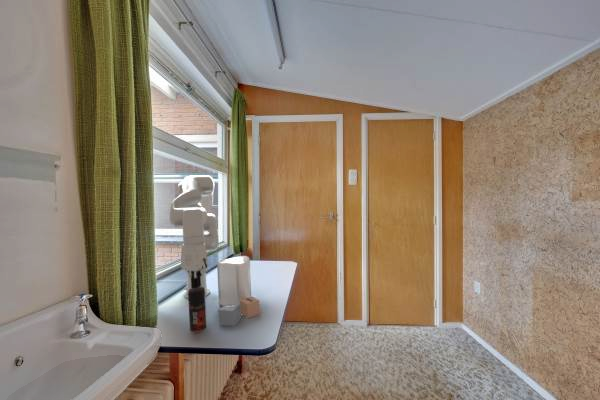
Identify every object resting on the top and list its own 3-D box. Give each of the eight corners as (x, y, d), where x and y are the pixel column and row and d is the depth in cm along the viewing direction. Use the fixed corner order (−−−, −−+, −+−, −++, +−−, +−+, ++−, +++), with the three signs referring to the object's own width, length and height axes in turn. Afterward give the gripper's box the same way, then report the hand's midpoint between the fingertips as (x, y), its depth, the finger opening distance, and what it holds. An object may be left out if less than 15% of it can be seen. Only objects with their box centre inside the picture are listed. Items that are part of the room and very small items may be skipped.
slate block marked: (219, 325, 105) (218, 309, 105) (226, 318, 111) (226, 303, 111) (233, 325, 104) (232, 310, 104) (240, 318, 109) (239, 303, 109)
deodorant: (190, 333, 99) (188, 293, 99) (189, 326, 104) (188, 288, 104) (206, 329, 101) (205, 290, 101) (205, 323, 107) (203, 286, 107)
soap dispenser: (217, 306, 124) (215, 259, 123) (238, 295, 136) (236, 252, 136) (243, 311, 117) (240, 261, 116) (262, 299, 129) (260, 254, 129)
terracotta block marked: (240, 314, 114) (239, 299, 114) (252, 309, 118) (251, 295, 118) (247, 318, 110) (246, 303, 109) (259, 313, 114) (259, 299, 114)
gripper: (172, 241, 103) (174, 288, 103) (199, 243, 96) (202, 293, 96) (188, 237, 109) (190, 281, 110) (215, 239, 103) (217, 286, 103)
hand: (196, 287), depth 103 cm, fingers closed
